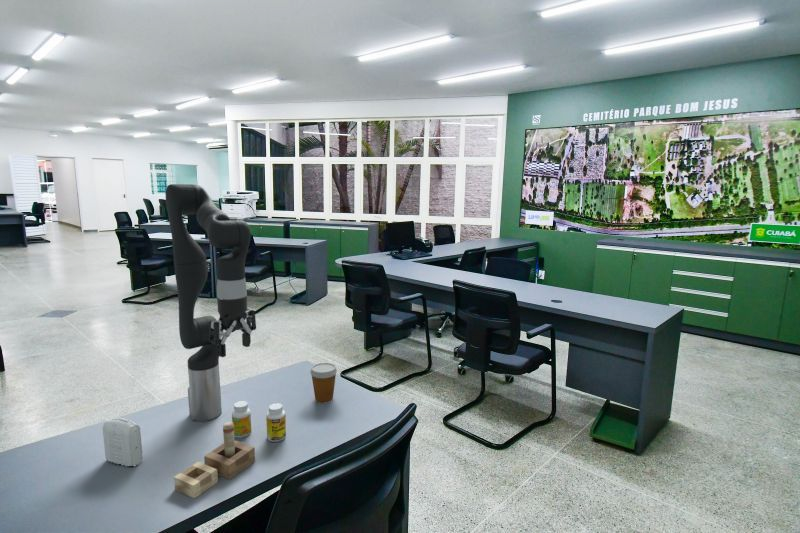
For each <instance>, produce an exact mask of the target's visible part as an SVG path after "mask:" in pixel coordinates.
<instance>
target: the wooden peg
mask: <svg viewBox="0 0 800 533" xmlns="http://www.w3.org/2000/svg"><path fill="white" fill-rule="evenodd" d="M222 431H223V432H222V433H223V443H224V451H225V457H227V458H231V457H232V456H234V455H235V443H234V440H235V436H234V425H233V422H232V421H227V422H224V423H223V425H222Z"/></svg>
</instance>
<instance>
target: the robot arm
mask: <svg viewBox="0 0 800 533" xmlns="http://www.w3.org/2000/svg"><path fill="white" fill-rule="evenodd" d="M165 204H166V211H167V216H168V221H169V227H170V233H171V241H172V243H171V244H172V251H173V252H172V253H173V266H174V267H173V268H174V276H175V282H176V288H177V297H178V298H177V299H178V300H177V301H178V333H179V340H180V342H181V345H182V346H183V348H184V349H186V350H192V349H196V348H200V349H198V350H197V351H196V352H195V353H194V354H192V355H190V356H189V358H188V359H187V375H188V376H187V377H188V387H187V399H188V410H189V413H188V414H189V415H190V416H191V419H192V420H194V421H198V422H203V421H206V422H207V421H211V420H213V419H216V418H217V417H219V416H220V415H221V414H222V396H221V394H222V393H221V379H220V378H221V377H220V360H219V359H220V357H221V358H225V357H226V356H227V347H226V341H227V339H228V338H229V337H230V335H231V334H232V333H234V332H236V331H239V330H240V331H241V332H242V333H241V342H242V346H243V347H246V348H249V347H250V346H251V342H252V341H251V334H252V332H253V331H255V330H257V319H256V311H255V310H254V309H248V295H247V294H248V292H247V291H248V290H247V281H246V258H247V255H248V251H249V246H250V242H251V237H252V235H251V234H252V232H251V228H250V225H249V224H248V223H247V222H246V221H245V220H242V219H236V220H234V219H232V220H231V218H230V217H229V215H227V213H225V212H224V211H223V210H221V209H220V208H219V207H218V206H217V205H216V204H215V202H214V200H213V199H212V197H210V195H209V193H208V192H207V190H206V189H205V188H204V187H203V186H201V185H199V184H184V183H183V184H182V183H178V184H175V183H171V184H168V185H167V186H166V188H165ZM184 215H196V221H197V223H198V225H199V226H200V227H201V228H202V229H203V230H204V231H205V232H206V234H207V240H208V241H209V244H210V245H211V246H212V247H214V248H217V249H218V248H219V249H226V248H232V250H231V252H230V253H227V254H225V255H223V256H220V257H218V258H217V260H216V278H217V279H216V280H217V281H216V282H217V283H216V297H217V298H216V299H217V300H216V301H217V303H216V304H217V312H218V314H219V319H216V318H215V317H214V315H205V316H200V317H195V314H194V312H195V307H196V303H197V301H198V299H199V296H200V295H201V293H202V291H203V290H204V289H203V288H204V287H205V285H206V282H207V280H208V278H209V277H208V262H207V255H206V253H205V252H204V250H203V249H202V247H201V246H200V245H199V244H198V243H197V241H196V240H195V239H194V238H193V236H191V234H190V232H189V231H188V230H187V227H186V225H185V222H184V218H183V216H184ZM194 317H195V318H194Z"/></svg>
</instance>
